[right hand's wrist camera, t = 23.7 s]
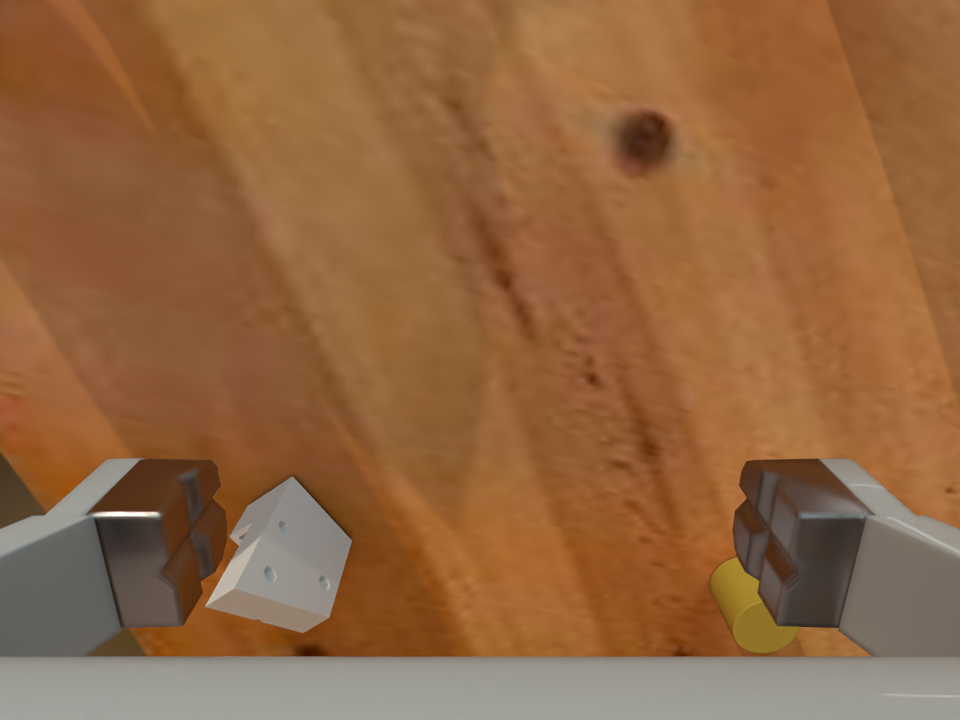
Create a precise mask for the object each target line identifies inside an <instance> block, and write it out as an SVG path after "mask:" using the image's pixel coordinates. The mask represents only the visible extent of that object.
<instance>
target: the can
mask: <svg viewBox="0 0 960 720" xmlns="http://www.w3.org/2000/svg"><path fill="white" fill-rule="evenodd" d="M758 586H759V581H758V580H757V579H755V578H754V577H752V576H750V575H749V574H747V573H746V572H745V571H744V569H743V568H742V566H741V564H740V562H739V560H738V557H736V558H732V559H730V560H727V561H725V562H724V563H722V564H721V565H720V566H719V567H718V568H717V569H716V570H715V571H714V573H713V574H712V577H711V580H710V590H711V593H712V595H713V597H714V599H715V601H716V603H717V605H718V607H719V609H720V611H721V613H722V615H723V617H724V619H725V621H726V623H727V625H728V627H729V629H730V631H731V633H732V635H733V637H734V639H735V641H736V642H737V643H738V645H739V646H741V647H742V648H743V649H745V650H747V651H750V652H754V653H769V652H773V651H776V650H779V649H781V648H783V647H784V646H786V645H787V644H789V643H790V642H791V641H792V640H793V639H794V638H795V636H796V635H797V633H798V630H799V627H790V626H777V625H776V623H775V622H774V620H773V618H772V617H771V615H770V613H769V612H768V610H767V608H766V607H765V605H764V603H763V602H762V600H761V598H760V597H759V595H758V593H757V592H758Z"/></svg>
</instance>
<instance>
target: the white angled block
mask: <svg viewBox="0 0 960 720" xmlns="http://www.w3.org/2000/svg"><path fill="white" fill-rule="evenodd" d="M230 538H231V539H232V540H233V541H234V542H235V543H236V544H237V545H238V546H239V547H238V549H237V551H236V553H235V554H234V556H233V558H232V560H231V562H230V563H229V565H228V567H227V569H226V570H225V572H224V574H223V576H222V578H221V579H220V581H219V583H218V585H217V587H216V588H215V590H214V592H213V594H212V595H211V597H210V599H209V601H208V603H207V604H206V606H205V607H207V608H211V609H215V610H219V611H222V612H226V613H230V614H234V615H237V616H241V617H245V618H249V619H252V620H257V619H259V620H261V621H260V622H264V623H267V624H271V625H275V626H279V627H282V628H286V629H290V630H294V631H297V632H301V633H304V632H306V631H308V630H309V629H311V628H313V627H314V626H316V625H318V624H319V623H321V622H323V621H324V620H326V619H328V618H329V616H330V613H331V610H332V606H333V603H334V600H335V596H336V593H337V590H338V586H339V583H340V580H341V576H342V573H343V569H344V566H345V563H346V559H347V556H348V553H349V549H350V546H351V543H352V540H351V539H350V538H349V537H348V536H347V535H346V534H345V533H344V531H343V530H342V529H341V528H340V527H339V526H338V525H337V524H336V523H335V522H334V521H333V519H332V518H331V517H330V516H329V515H328V514H327V513H326V512H325V511H324V510H323V509H322V508H321V506H320V505H319V504H318V503H317V502H316V501H315V500H314V499H313V498H312V497H311V496H310V495H309V493H308V492H307V491H306V490H305V489H304V488H303V487H302V486H301V485H300V484H299V483H298V481H297V480H296V479H295V478H294V477H293V476H292V477H291V478H289V479H288V480H286V481H285V482H283V483H281V484H280V485H278V486H277V487H275V488H274V489H272V490H271V491H269V492H268V493H266V494H265V495H263V496H262V497H260V498H259V499H257V500H256V501H254V502H253V503H251V504H250V505H248V506H247V508H246V510H245V511H244V513H243V515H242V516H241V518H240V520H239V521H238V523H237V525H236V526H235V528H234V530H233V532H232V533H231V535H230Z"/></svg>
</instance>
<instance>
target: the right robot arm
mask: <svg viewBox="0 0 960 720" xmlns="http://www.w3.org/2000/svg"><path fill="white" fill-rule="evenodd" d="M220 486H221V484H220V479H219V474H218V469H217V466H216V465H215V464H214V463H213V462H212V460H191V459H144V458H124V459H109V460H106V461H105V462H104V463H103V464H102V465H100V466H99V467H98V468H97V469H96V470H95V471H94V472H93V473H92V474H90V475H89V476H88V477H87V478H86V479H85V480H84V481H83V482H81V483H80V484H79V485H78V486H77V487H76V488H75V489H74V490H72V491H71V492H70V493H69V494H68V495H67V496H66V497H65V498H64V499H62V500H61V501H60V502H59V503H58V504H57V505H56V506H55V507H53V508H52V509H51V510H50V511H49V512H48V513H47V514H46V515H45V516H31V517H29V518H26V519H24V520H22V521H19V522H17V523H14V524H12V525H9V526H7V527H4V528H2V529H0V720H960V529H958V528H956V527H953V526H951V525H948V524H946V523H943V522H941V521H938V520H936V519H934V518H931V517H929V516H916V515H914V514H913V513H912V512H911V511H910V510H909V509H908V508H907V507H905V506H904V505H903V504H902V503H901V502H900V501H899V500H898V499H897V498H895V497H894V496H893V495H892V494H891V493H890V492H889V491H888V490H887V489H885V488H884V487H883V486H882V485H881V484H880V483H879V482H878V481H876V480H875V479H874V478H873V477H872V476H871V475H870V474H869V473H868V472H866V471H865V470H864V469H863V468H862V467H861V466H860V465H859V464H858V463H856V462H855V461H854V460H851V459H847V458H830V459H780V460H752V461H746V463H745V465H744V467H743V469H742V472H741V478H740V484H739V486H740V488H741V489H742V491H743V493H744V494H745V496H746V497H747V499H746V500H745V501H744V502H743V503H742V504H741V505H740V506H739V507H738V508H737V509H736V510H735V515H734V523H733V538H734V548H735V551H736V554H737V557H738V560H739V562H740V564H741V566H742V568H743V569H744V571H745V572H746V573H747V574H749V575H750V576H752V577H754V578H755V579H757V580H758V581H759V586H758V592H757V593H758V595H759V597H760V598H761V600H762V602H763V603H764V605H765V607H766V608H767V610H768V612H769V613H770V615H771V617H772V618H773V620H774V622H775V623H776V625H777V626H790V627H827V628H839V630H838V631H840V632H841V633H842V634H844V635H845V636H846V637H848V638H849V639H850V640H852V641H853V642H855V643H856V644H857V645H859V646H860V647H861V648H863V649H864V650H865V651H867V652H868V653H869V654H871V655H872V656H873V657H87V656H88V655H90V654H91V653H92V652H94V651H95V650H96V649H98V648H99V647H100V646H102V645H103V644H104V643H106V642H107V641H108V640H110V639H111V638H112V637H114V636H115V635H116V634H118V633H119V632H120V631H121V628H133V627H168V626H183V625H184V623H185V622H186V620H187V618H188V617H189V615H190V613H191V612H192V610H193V608H194V607H195V605H196V603H197V602H198V600H199V598H200V597H201V595H202V593H203V592H202V586H201V581H202V580H203V579H205V578H206V577H208V576H210V575H211V574H213V573H214V572H215V571H216V569H217V567H218V566H219V564H220V562H221V560H222V558H223V554H224V550H225V546H226V542H227V521H226V515H225V510H224V509H223V508H222V507H221V506H220V505H219V504H218V503H217V502H216V501H215V500H214V499H213V497H214V496H215V494H216V493H217V491H218V489H219V488H220Z"/></svg>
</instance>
